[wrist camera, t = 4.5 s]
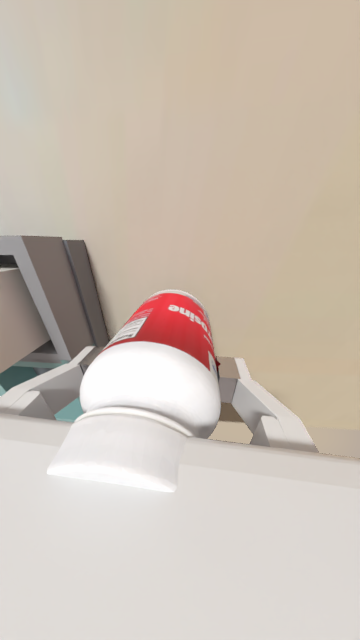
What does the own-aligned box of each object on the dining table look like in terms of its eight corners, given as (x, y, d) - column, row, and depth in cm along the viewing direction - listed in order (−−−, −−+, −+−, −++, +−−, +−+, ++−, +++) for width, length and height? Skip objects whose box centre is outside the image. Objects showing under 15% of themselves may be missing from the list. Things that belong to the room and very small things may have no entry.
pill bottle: (221, 331, 14) (277, 546, 4) (166, 357, 16) (118, 542, 6) (184, 272, 12) (126, 423, 2) (126, 309, 14) (-42, 477, 4)
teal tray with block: (82, 237, 13) (-413, 219, 2) (120, 388, 21) (48, 535, 11) (-25, 238, 14) (-782, 224, 3) (52, 384, 22) (-80, 517, 11)
